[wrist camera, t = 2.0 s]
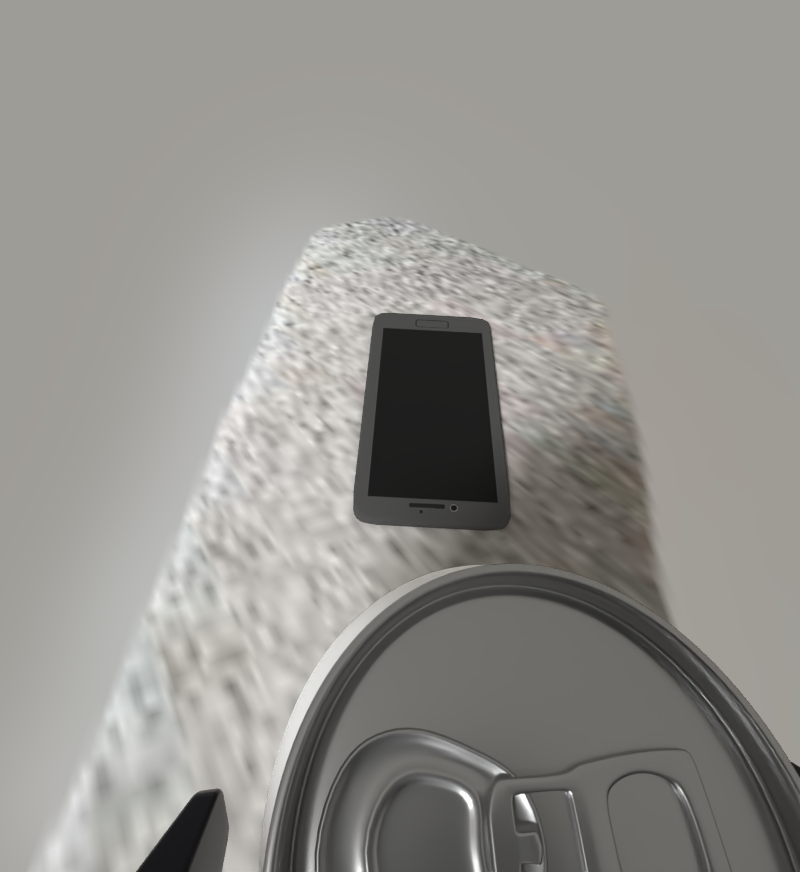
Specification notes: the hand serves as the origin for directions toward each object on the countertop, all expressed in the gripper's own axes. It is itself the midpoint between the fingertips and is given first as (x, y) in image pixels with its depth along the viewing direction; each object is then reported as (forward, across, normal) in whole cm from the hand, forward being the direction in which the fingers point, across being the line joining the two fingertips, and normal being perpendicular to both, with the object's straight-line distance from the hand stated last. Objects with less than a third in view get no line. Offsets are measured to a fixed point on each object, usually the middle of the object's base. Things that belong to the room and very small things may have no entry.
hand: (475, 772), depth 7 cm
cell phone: (+16, -2, -4) cm, 17 cm away
